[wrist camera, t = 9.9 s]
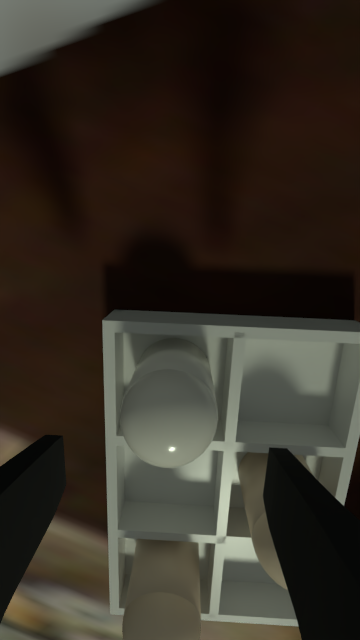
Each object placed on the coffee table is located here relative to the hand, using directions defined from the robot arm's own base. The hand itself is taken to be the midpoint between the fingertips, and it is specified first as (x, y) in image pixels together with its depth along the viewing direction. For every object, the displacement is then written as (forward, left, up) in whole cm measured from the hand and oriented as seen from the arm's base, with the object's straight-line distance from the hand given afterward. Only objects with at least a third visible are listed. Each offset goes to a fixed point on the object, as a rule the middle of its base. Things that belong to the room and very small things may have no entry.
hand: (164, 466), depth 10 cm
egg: (0, 0, -8) cm, 8 cm away
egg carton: (-3, +7, -8) cm, 11 cm away
